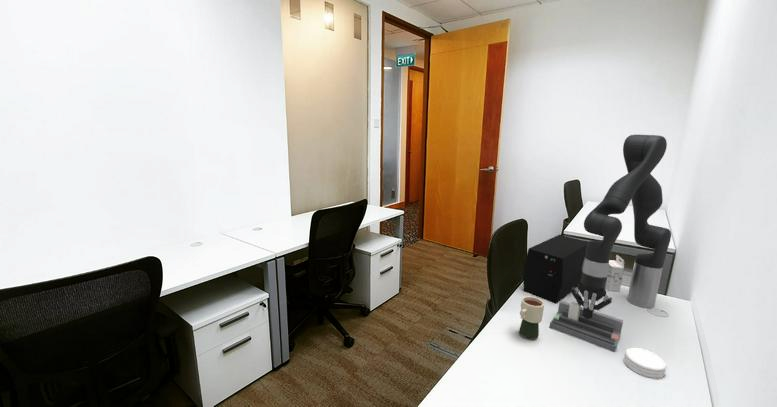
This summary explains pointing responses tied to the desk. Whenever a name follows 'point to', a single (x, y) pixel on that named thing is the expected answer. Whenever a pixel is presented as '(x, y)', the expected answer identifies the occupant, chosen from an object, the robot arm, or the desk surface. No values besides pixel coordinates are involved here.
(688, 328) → the desk surface
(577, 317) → the handle
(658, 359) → the white round disc
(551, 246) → the uninterruptible power supply
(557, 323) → the grey slider panel
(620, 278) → the ink cartridge box
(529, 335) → the character mug
